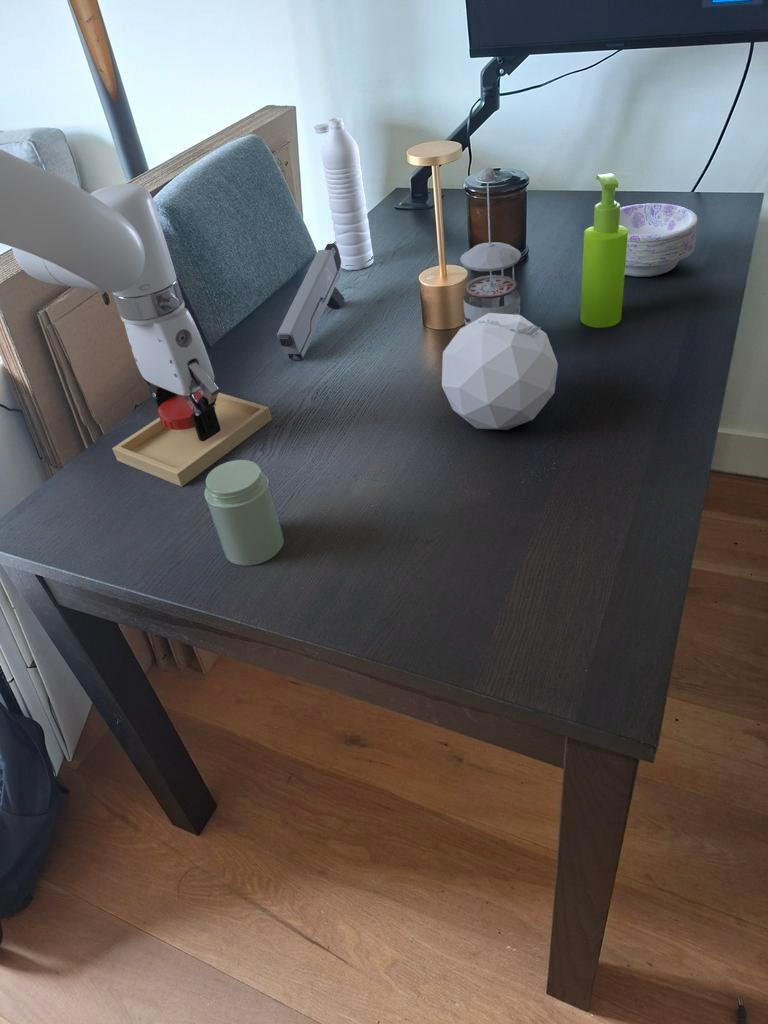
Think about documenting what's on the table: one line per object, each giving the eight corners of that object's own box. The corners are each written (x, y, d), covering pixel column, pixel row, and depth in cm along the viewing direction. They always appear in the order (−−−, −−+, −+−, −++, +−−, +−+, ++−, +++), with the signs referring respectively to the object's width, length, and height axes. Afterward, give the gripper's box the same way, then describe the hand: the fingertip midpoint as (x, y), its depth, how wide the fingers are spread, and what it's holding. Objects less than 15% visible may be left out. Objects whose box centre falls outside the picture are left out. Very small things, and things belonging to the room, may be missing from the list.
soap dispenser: (615, 305, 116) (625, 168, 104) (624, 325, 111) (636, 183, 98) (576, 309, 117) (581, 173, 104) (583, 329, 112) (590, 188, 99)
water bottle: (351, 256, 146) (329, 113, 131) (380, 258, 143) (361, 113, 128) (326, 274, 141) (301, 127, 125) (356, 277, 138) (334, 127, 122)
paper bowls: (594, 286, 123) (597, 237, 118) (596, 250, 134) (599, 204, 129) (695, 284, 119) (702, 233, 114) (688, 247, 130) (695, 200, 125)
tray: (181, 487, 93) (177, 473, 91) (117, 460, 99) (111, 448, 98) (272, 419, 102) (268, 407, 101) (207, 399, 109) (203, 387, 108)
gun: (351, 286, 131) (338, 235, 124) (308, 387, 117) (290, 336, 109) (338, 286, 132) (324, 235, 124) (293, 386, 118) (274, 335, 110)
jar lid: (199, 396, 102) (195, 385, 101) (224, 413, 98) (221, 402, 97) (152, 417, 99) (148, 406, 98) (176, 436, 95) (172, 425, 94)
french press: (448, 361, 109) (435, 179, 93) (478, 325, 117) (471, 152, 101) (513, 369, 105) (511, 181, 89) (540, 332, 113) (542, 152, 97)
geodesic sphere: (595, 351, 94) (524, 262, 89) (586, 413, 84) (505, 316, 79) (500, 410, 103) (431, 332, 98) (482, 472, 93) (404, 388, 88)
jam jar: (255, 573, 79) (233, 503, 73) (211, 553, 82) (186, 484, 76) (296, 536, 83) (278, 466, 77) (252, 518, 86) (232, 450, 80)
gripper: (221, 300, 86) (256, 432, 97) (133, 275, 95) (175, 397, 107) (168, 327, 82) (211, 462, 93) (82, 298, 91) (131, 423, 102)
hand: (191, 426), depth 99 cm, fingers closed on jar lid, 6 cm apart
